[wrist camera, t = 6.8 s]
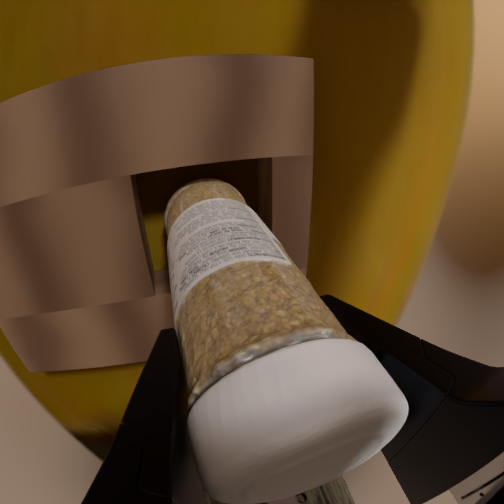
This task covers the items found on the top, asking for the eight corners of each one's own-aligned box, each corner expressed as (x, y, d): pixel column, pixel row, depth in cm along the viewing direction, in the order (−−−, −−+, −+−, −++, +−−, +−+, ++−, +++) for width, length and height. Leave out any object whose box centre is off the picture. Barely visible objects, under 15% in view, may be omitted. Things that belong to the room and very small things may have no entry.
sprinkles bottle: (243, 250, 17) (367, 470, 6) (164, 256, 16) (209, 518, 5) (248, 174, 15) (453, 375, 4) (161, 176, 14) (194, 468, 3)
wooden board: (292, 62, 14) (313, 58, 12) (287, 306, 22) (301, 328, 20) (-41, 130, 9) (-64, 137, 7) (36, 348, 17) (29, 372, 15)
